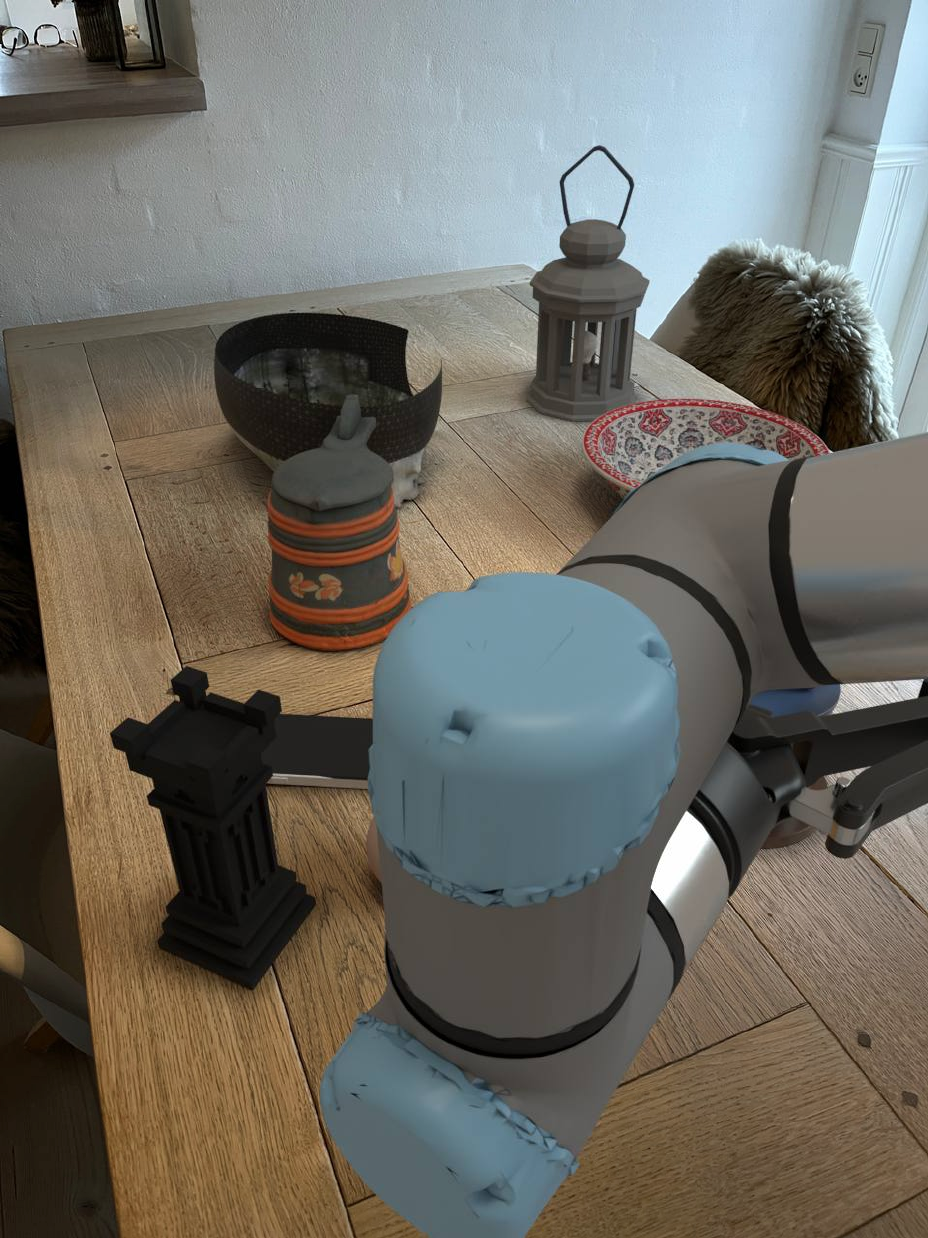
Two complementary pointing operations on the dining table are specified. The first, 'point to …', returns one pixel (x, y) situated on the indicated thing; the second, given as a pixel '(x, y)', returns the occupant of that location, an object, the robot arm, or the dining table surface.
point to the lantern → (586, 318)
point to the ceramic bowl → (684, 436)
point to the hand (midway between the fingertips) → (823, 594)
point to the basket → (324, 388)
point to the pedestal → (786, 703)
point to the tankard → (336, 542)
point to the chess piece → (218, 828)
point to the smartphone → (320, 751)
